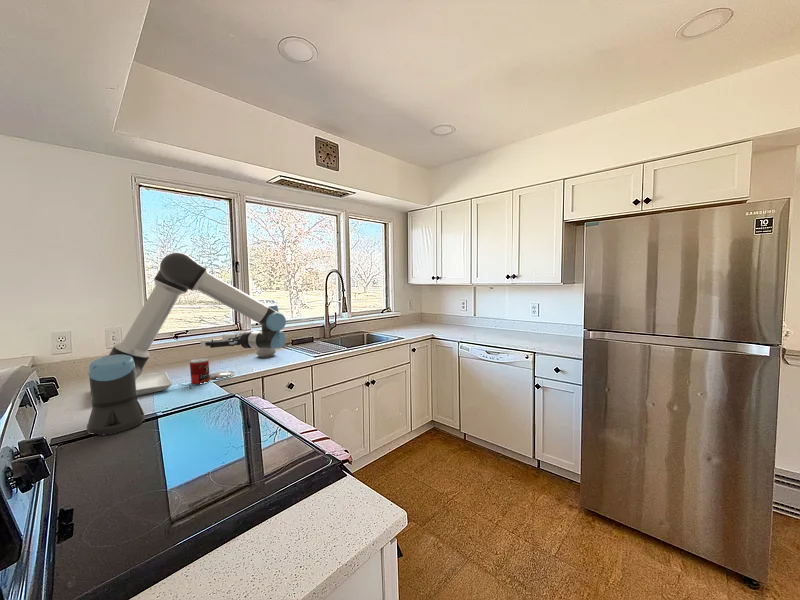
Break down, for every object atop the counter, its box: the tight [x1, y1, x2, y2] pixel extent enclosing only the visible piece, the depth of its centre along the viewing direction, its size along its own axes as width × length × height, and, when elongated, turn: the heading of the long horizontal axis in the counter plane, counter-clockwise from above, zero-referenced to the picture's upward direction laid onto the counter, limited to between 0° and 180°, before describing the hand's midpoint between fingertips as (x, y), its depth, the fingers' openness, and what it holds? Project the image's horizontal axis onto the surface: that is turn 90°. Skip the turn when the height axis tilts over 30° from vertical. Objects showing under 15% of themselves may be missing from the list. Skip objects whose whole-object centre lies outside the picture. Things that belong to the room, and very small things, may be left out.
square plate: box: [90, 371, 173, 402], centre depth 153 cm, size 27×27×4 cm
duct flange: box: [209, 370, 235, 380], centre depth 173 cm, size 12×12×1 cm
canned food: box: [189, 357, 211, 385], centre depth 162 cm, size 8×8×11 cm
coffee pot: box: [255, 348, 277, 359], centre depth 210 cm, size 21×12×15 cm, turn 41°
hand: (212, 340), depth 159 cm, fingers open, 13 cm apart
